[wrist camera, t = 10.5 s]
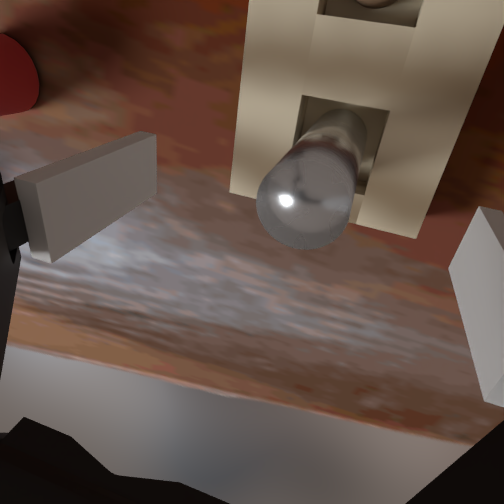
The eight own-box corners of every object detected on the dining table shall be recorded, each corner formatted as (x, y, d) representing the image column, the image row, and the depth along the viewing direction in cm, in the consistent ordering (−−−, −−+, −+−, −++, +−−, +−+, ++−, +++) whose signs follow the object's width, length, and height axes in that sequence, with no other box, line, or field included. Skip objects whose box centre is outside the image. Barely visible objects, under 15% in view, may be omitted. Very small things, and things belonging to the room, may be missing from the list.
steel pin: (317, 103, 27) (263, 150, 15) (374, 114, 26) (362, 172, 14) (306, 158, 29) (250, 236, 17) (358, 169, 28) (337, 259, 16)
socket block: (286, -147, 22) (252, -212, 16) (550, -135, 19) (615, -208, 13) (246, 177, 32) (216, 203, 27) (412, 217, 29) (418, 255, 24)
